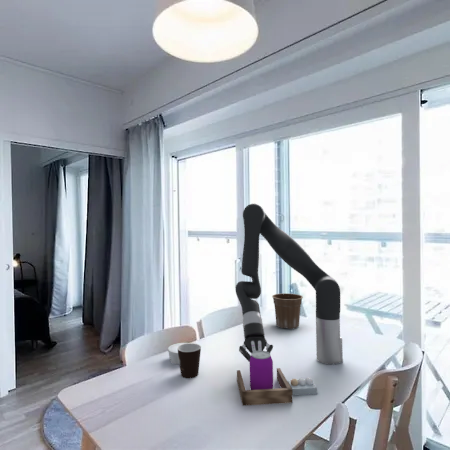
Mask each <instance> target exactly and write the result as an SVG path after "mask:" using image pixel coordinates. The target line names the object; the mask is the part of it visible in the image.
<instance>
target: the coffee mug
mask: <svg viewBox="0 0 450 450" xmlns="http://www.w3.org/2000/svg"><path fill="white" fill-rule="evenodd" d="M186 343H187V344H182V345H180V346H179V347H178V356H179V364H180V365H179V371H180V376H181V377H182V378H183V379H189V380H190V379H194V378H196V377H198V375H199V371H200V362H201V361H200V359H201V350H202V346H201V345H200V344H198V343H193V342H191V343H189V342H186Z"/></svg>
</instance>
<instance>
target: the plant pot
mask: <svg viewBox="0 0 450 450" xmlns="http://www.w3.org/2000/svg"><path fill="white" fill-rule="evenodd" d="M271 297H272V299H273V304H274V312H275V325H276V326H277V328H281V329H289V330H294V329H297V327H298V328H299V326H300V321H301V319H300V318H301V317H300V316H301V307H302V302H303V301H302V300H303V298H304V297H303V295H300V294H297V293H286V292H285V293H275V294H272V296H271ZM293 328H294V329H293Z"/></svg>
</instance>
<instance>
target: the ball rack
mask: <svg viewBox="0 0 450 450" xmlns="http://www.w3.org/2000/svg"><path fill="white" fill-rule="evenodd" d="M286 380H287V379H286ZM287 382H288V383H289V385H290V387H291V389H292V396H304V395H317V394H318V388H317V386H316V384H315V383H314V381H313V378H310V377H307V378H306V379H305V378H302V377H301V378H299V379H296V378H292V379H288V380H287Z"/></svg>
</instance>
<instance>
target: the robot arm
mask: <svg viewBox="0 0 450 450" xmlns="http://www.w3.org/2000/svg"><path fill="white" fill-rule="evenodd" d="M242 220H243V227H244V228H243V230H244V231H243V232H244V235H243V236H244V237H243V238H244V239H243V247H242V248H243V250H242V260H241V270H240V271H241V274H242V275H243V276H246V277H250V278H251V281H245V280H241V281H238V282H237V283H236V285H235V294H236V297H237V300H238V301H239V304H240V307H241V313H242V328H243V334H244V335H243V337H244V341H243V344H242V345H240V346H238V347H239V348H238V352H239V353H240V354H241V355H242V356H243V357H244V358H245V359H246V360H247V362H249V361H250V358H251V355H252V353H253V352H254V351H267V352H269V353H270V354H271V352H272V351H273V347H274V345H273V344H269V343H268V341H267V339H266V338H265V337H266V336H265V331H264V324H263V318H262V315H261V309H260V303H259V302H258V301H257V299H259V298H260V297H261V294H262V287H261V284H260V277H259V268H260V267H259V266H260V265H259V264H260V235H261V236H262V237H263V238H264V239H265V241H266V242H267V243H268V244H269V246H270V247H271V248H272V249H273V251H274V252H275V253H276V255H277V256H279V257H280V258H281V259H282V260H283V262H284V263H286V264H287V265H288V266H289V267H290V268H291V269H293V270H294V271H296V272H297V273H298V274H300V275H301V276H302V277H303V278H304V279H306V281H307V282H308V283H309V284H310V285H311V287H313V289H314V290H315V337H316V338H315V341H316V344H315V346H316V348H315V350H316V351H315V352H316V354H315V355H316V360H317V361H318V362H320V363H321V364H324V365H338V364H340V363H343V362H344V361H343V360H344V359H343V337H341V319H340V318H341V288H340V285H339V283H338V282H337V280H336V279H334V278H333V277H332V276H331V275H330V274H328V273H327V272H325V271H324V270H323V269H322V268H321V267H320V266H318V264H317V263H315V261H314V260H313V259H312V258H311V257H310V255H309V253H307V252H306V251H305V249H304V248H303V247H302V246H301V245H300V244H299V243H298V241H296V240H295V239H294V238H293V237H292V236H290V235H289V234H288V233H287V232H285V231H284V230H282V229H281V228H280V227H279V226H277V225H276V224H275V222H273V221H272V220H271V219H270V217H269V215H267V213H266V211H265V210H264V208H263V206H261V205H259V204H258V203H251V204H248V205H247V206H245V207H244V208H243V211H242Z"/></svg>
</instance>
